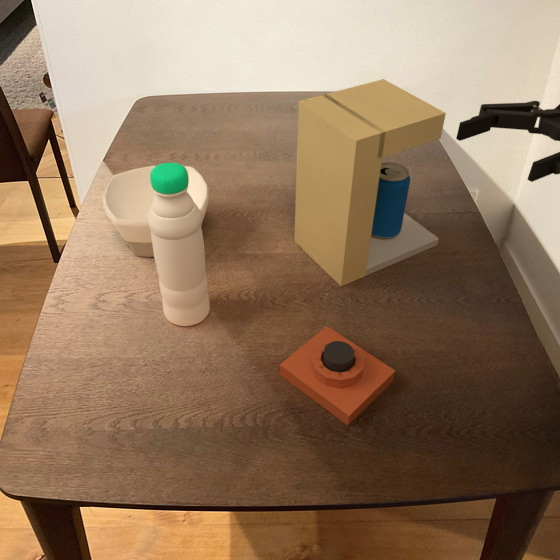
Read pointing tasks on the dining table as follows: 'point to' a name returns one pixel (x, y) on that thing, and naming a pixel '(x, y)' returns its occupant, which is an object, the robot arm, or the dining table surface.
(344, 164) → the coffee maker
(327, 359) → the button
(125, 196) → the bowl
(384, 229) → the beverage can
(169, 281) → the water bottle
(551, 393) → the dining table surface
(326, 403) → the brew pad
